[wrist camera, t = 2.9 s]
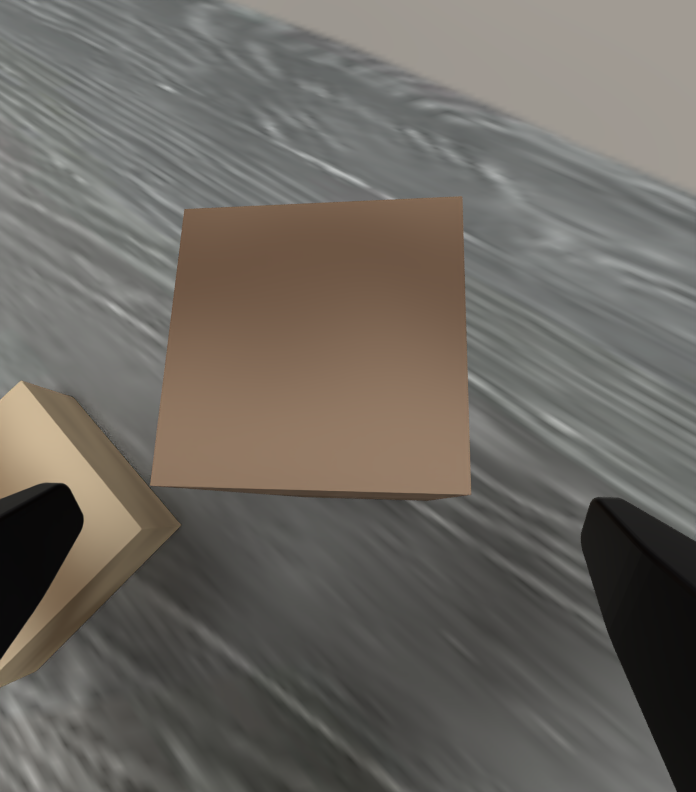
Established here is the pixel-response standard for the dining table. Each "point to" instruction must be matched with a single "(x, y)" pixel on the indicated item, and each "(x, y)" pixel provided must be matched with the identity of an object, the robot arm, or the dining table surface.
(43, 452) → the oak slab
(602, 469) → the dining table surface
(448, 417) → the walnut block
